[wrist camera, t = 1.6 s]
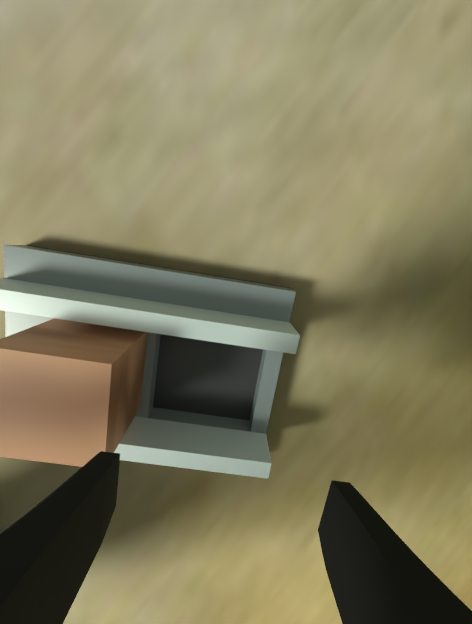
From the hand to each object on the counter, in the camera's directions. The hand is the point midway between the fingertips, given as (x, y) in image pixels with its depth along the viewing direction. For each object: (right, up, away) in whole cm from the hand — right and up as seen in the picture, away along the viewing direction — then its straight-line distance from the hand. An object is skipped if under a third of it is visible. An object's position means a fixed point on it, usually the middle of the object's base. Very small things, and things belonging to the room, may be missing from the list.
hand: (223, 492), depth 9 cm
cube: (-8, +3, +7) cm, 11 cm away
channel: (-5, +3, +9) cm, 11 cm away
